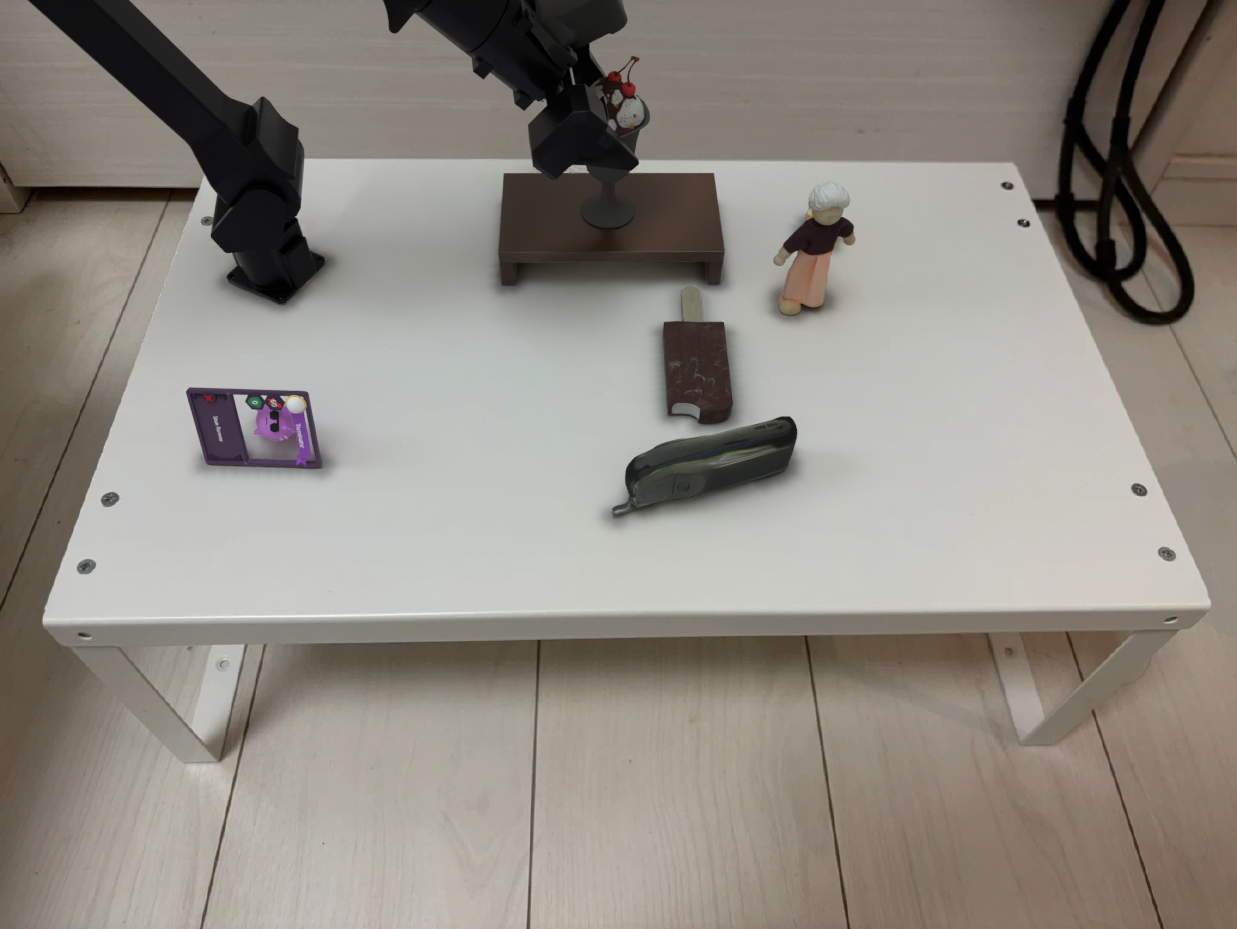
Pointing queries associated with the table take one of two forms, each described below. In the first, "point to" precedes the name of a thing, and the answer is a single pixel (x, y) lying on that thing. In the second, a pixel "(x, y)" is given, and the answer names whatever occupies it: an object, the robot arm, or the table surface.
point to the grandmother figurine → (814, 248)
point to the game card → (273, 422)
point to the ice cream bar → (696, 364)
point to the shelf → (658, 232)
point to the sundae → (626, 122)
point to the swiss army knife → (709, 462)
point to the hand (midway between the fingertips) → (627, 136)
